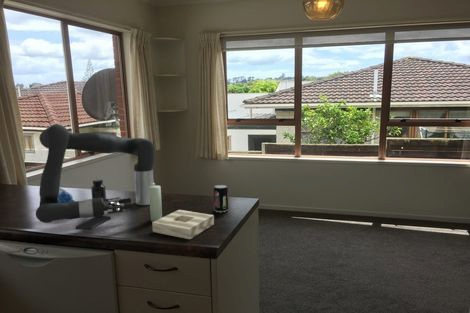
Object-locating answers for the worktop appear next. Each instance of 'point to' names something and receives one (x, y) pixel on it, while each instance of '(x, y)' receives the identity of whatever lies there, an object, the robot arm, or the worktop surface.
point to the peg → (155, 202)
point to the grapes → (65, 197)
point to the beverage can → (220, 198)
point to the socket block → (183, 224)
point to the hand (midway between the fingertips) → (132, 203)
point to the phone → (93, 222)
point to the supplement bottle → (98, 189)
